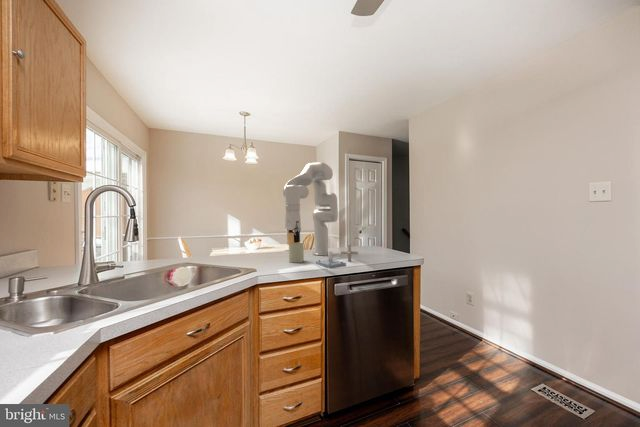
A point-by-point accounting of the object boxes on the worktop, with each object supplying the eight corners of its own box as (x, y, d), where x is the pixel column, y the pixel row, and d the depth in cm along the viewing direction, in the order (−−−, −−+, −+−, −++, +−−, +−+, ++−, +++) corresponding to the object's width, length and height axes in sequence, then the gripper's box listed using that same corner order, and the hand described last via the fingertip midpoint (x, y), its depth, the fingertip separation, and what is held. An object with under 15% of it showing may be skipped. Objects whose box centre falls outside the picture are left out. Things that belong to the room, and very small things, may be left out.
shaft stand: (315, 263, 157) (315, 250, 157) (331, 261, 162) (331, 249, 162) (329, 268, 145) (328, 254, 145) (345, 265, 150) (345, 252, 150)
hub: (285, 243, 148) (285, 232, 147) (296, 242, 151) (296, 231, 151) (291, 244, 142) (290, 233, 142) (301, 243, 145) (301, 232, 145)
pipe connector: (357, 263, 157) (357, 245, 157) (340, 262, 159) (339, 245, 159) (358, 259, 167) (358, 243, 167) (342, 259, 169) (342, 243, 169)
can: (292, 263, 160) (291, 242, 159) (286, 260, 168) (286, 241, 167) (306, 261, 164) (306, 241, 164) (300, 259, 172) (300, 240, 172)
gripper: (279, 208, 151) (280, 240, 152) (293, 208, 136) (294, 244, 137) (292, 207, 155) (293, 239, 156) (306, 208, 140) (307, 242, 141)
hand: (293, 241), depth 146 cm, fingers closed on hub, 6 cm apart
